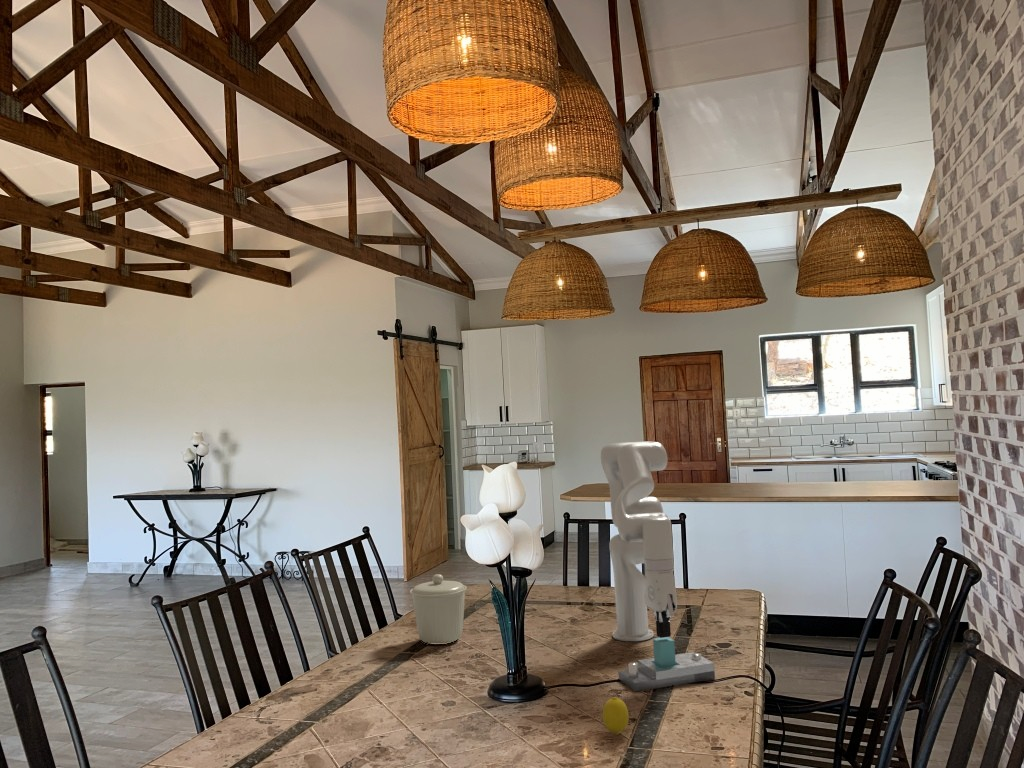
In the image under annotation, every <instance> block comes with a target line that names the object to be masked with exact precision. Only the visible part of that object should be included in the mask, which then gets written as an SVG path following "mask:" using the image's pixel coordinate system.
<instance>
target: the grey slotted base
mask: <svg viewBox="0 0 1024 768" xmlns="http://www.w3.org/2000/svg"><path fill="white" fill-rule="evenodd" d="M675 661H676V665H675V666H668V667H661V668H660V667H659V666H657V665H655V662H654V657H650V658H644V659H638V660H637V662H629V663H628V669H623V670H622V669H621V670H618V674H617V675H618V680H620V681H621V682H622V683H623V684H625V685H626V684H627V685H626V686H628V687H629V686H630V687H629V688H630V689H632V690H633V689H634V690H633V691H634V692H641V690H642V691H647V689H648V690H653V689H660V688H666V687H671V686H672V685H673V686H677V685H684V684H690V683H696V682H697V683H698V682H703V681H710V680H715V679H716V675H715V674H716V673H715V663H714V662H713V661H711V660H709V659H708V658H705V657H704V656H702V654H701V653H699V652H694V651H691V652H685V653H684V652H683V653H678V654H676V653H675ZM673 686H672V687H673Z"/></svg>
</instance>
